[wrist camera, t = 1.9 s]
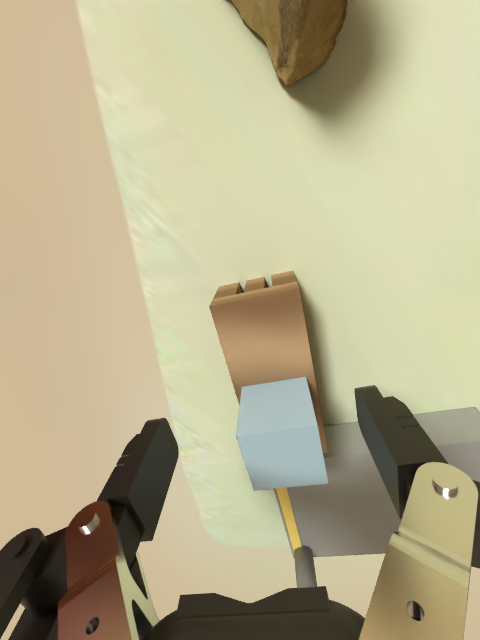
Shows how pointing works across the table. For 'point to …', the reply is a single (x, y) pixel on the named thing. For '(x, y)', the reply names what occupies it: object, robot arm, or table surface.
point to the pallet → (265, 335)
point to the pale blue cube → (280, 435)
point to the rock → (295, 32)
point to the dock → (363, 491)
